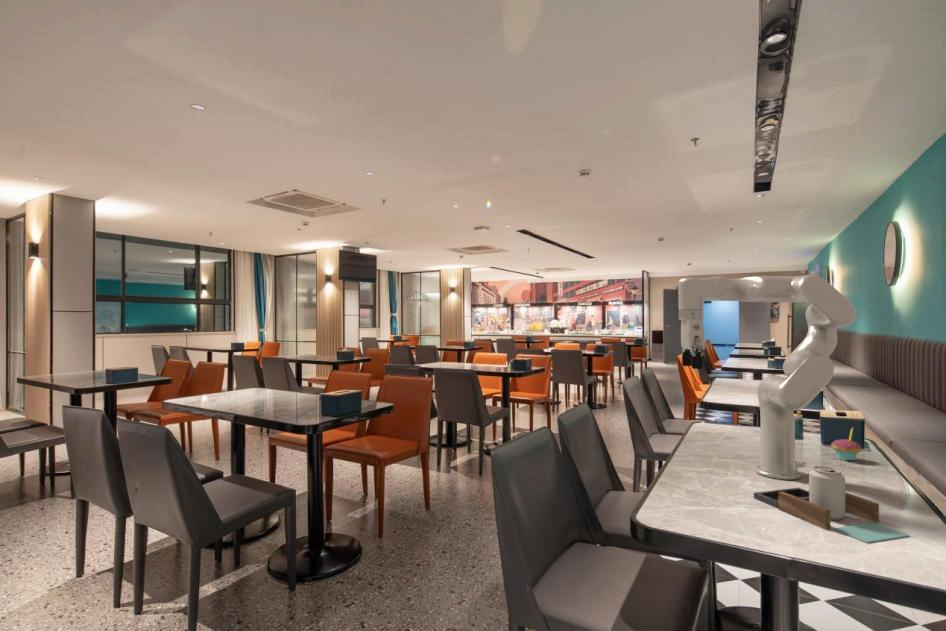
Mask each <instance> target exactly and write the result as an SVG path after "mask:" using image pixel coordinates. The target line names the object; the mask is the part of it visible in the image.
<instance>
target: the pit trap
mask: <svg viewBox="0 0 946 631" xmlns="http://www.w3.org/2000/svg"><path fill="white" fill-rule="evenodd" d="M778 492H785V493H787V494H790V495H793V496H795V497H798V498H800V499H803V500H806V501H808V502H809V490H807V489H804V488H801V487H794V488H793V487H792V488H784V489H782V488H781V489H776V490H767V491H765V490H764V491H757V492H753V499H754V500H757V501H760V502H762V503H765V504H767V505H770V506H772V507H774V508H776V509H777V508H778Z"/></svg>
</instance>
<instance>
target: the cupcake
mask: <svg viewBox="0 0 946 631" xmlns="http://www.w3.org/2000/svg"><path fill="white" fill-rule="evenodd" d="M853 432H854V426H852V428H850V432H849V436H848V437H849V439H847V438H846V439H845V438H844V439H842V438H841V439H836V440H834V441H832V442H831V445H830V447H831V449H834V451H835V454H836V457H837V459H838V458H840V459H845V460H855V461H856V458H857V455H858V453H860V452H862V447H861V445H860V444H858V443H857V442H856V441H854V440H852V438H853ZM840 459H839V460H840Z"/></svg>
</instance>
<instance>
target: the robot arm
mask: <svg viewBox="0 0 946 631" xmlns="http://www.w3.org/2000/svg"><path fill="white" fill-rule="evenodd" d="M677 285H678V286H677V290H678V291H677V292H678V296H677V297H678V320H679V321H680V320H681V322H680V346H681V364H682V366H683V367H691V369H693V370H702V369H703V366H704V365H703V360H704V359H703V351H704V350H705V349H706V340H705V339H706V338H705V328H704V327H705V326H704V321H703V320H705V318H704V309H705V308H704V301H708V302H709V301H712V302H714V301H716V302H717V301H718V302H725V301H726V302H729V301H730V302H748V303H791V304H792V303H793V304H794V303H796V304H797V303H809V306H807V308H806V310H805V319H806V323H807V334H806V336H805V337H804V338H803V340H802V341H801V342H800V343H799V344H798V345H797V347H796V348H794V350H793V351H792V352H791V353H790V354H789V355H788V356H787V357H786V359H785V360H784V362H783V364H782V370H783V373H784V375H786V376H787V377H784V376H780V375H779V376H778V375H771V376H770V375H769V376H767V377H764V378H763V379H761V381H760V382H759V384H758V386H757V398H758V405H759V411H760V412H759V413H760V416H759V417H760V465H756V466H755V469H754V470H755V473H757V474H759V475H761V476H763V477H766V478H767V477H768V478H771V479H778V480H786V481H787V480H789V481H791V480H792V481H793V480H798V479H801V477H802V473H801V472H800V471H799V470H798V469H799V468H805V467H807V462H806V461H805V460H801V461H798V460H796V434H795V433H796V418H795V413H794V412H795V411H800V410H802V409H803V408H805V407H807V406H808V405H810V403H811V402H812V401H813V400H815V399H816V397H817V396H818V395H819V394H820V393H821V392H822V391H823V389H824V388H825V387H826V386H827V385H828V384H829V382H830V381H831V380H832V379H833V376H834V372H835V367H834V363H833V361H832V360H831V358H829V357H830V356H831V354H833V352H834V351H835V349H836V347H837V344H838V333H837V328H845V327H848V326H849V325H852V324H853V323H854V321H855V320H856V317H857V310H856V307H855V306H854V304H853V303H852V301H850V300H849V299H848V298H847V297H846V296H845V295H843V294H842V293H841V292H840V291H839V290H837V289H836V287H834V286H833V285H831V283H829V282H828V281H827V280H826V279H824V278H822V277H821V276H819V275H817V274H805V275H797V276H794V275H793V276H789V275H787V276H784V275H783V276H779V275H777V276H775V275H757V276H749V277H741V278H730V279H729V278H726V277H724V276H719V275H718V276H717V275H716V276H715V275H714V276H710V277H702V278H701V277H684V278H681V279H679V280H678V283H677Z"/></svg>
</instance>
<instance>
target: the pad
mask: <svg viewBox="0 0 946 631" xmlns="http://www.w3.org/2000/svg"><path fill="white" fill-rule="evenodd" d="M833 530H834V531H837V532H839V533H841V534H844V535H846V536H847V537H848V536H849V537H850V538H854V539H856V540H858V541H859V542H860V541H861V542H863V543H866V544H871V543H876V542H883V541H889V540H895V539H903V538H907V537H910V535H909V534H907V533H905V532H902V531H899V530H897V529H894V528H892V527H889V526H886V525H883V524H880V523H879V522H870V523H868V522H867V523H862V524H853V525H848V526H840V527H834V528H833Z"/></svg>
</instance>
